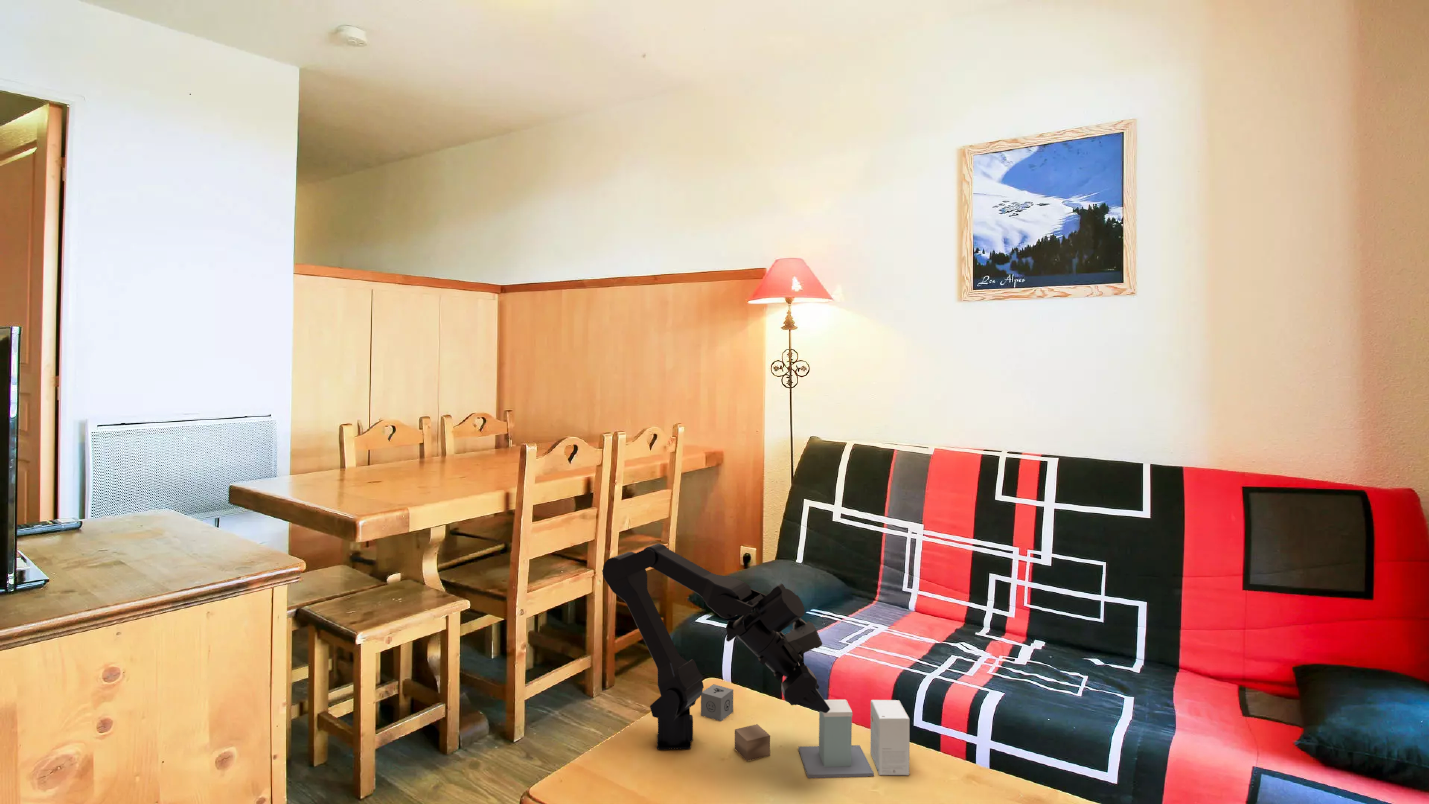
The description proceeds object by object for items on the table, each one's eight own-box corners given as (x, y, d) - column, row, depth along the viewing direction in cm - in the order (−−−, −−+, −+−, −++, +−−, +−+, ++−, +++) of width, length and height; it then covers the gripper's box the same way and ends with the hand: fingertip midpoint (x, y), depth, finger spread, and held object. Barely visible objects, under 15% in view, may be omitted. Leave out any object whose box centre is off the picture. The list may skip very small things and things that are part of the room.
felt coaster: (807, 778, 129) (807, 774, 129) (798, 749, 139) (798, 746, 139) (873, 776, 130) (873, 773, 130) (859, 748, 140) (859, 745, 140)
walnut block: (746, 762, 135) (747, 740, 135) (734, 749, 139) (734, 729, 139) (770, 756, 137) (770, 735, 137) (757, 744, 141) (757, 724, 141)
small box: (909, 776, 130) (910, 719, 130) (878, 776, 130) (879, 718, 130) (899, 753, 138) (900, 699, 138) (869, 753, 138) (870, 698, 138)
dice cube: (733, 712, 155) (733, 689, 155) (720, 721, 150) (721, 698, 150) (713, 706, 157) (713, 684, 157) (700, 715, 153) (701, 692, 153)
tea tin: (823, 767, 132) (824, 712, 131) (818, 752, 137) (818, 699, 137) (851, 766, 132) (852, 712, 132) (845, 751, 137) (845, 699, 137)
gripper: (805, 628, 124) (867, 690, 125) (787, 595, 142) (841, 650, 143) (759, 674, 124) (821, 736, 125) (747, 635, 142) (801, 689, 143)
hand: (822, 699), depth 134 cm, fingers open, 9 cm apart
